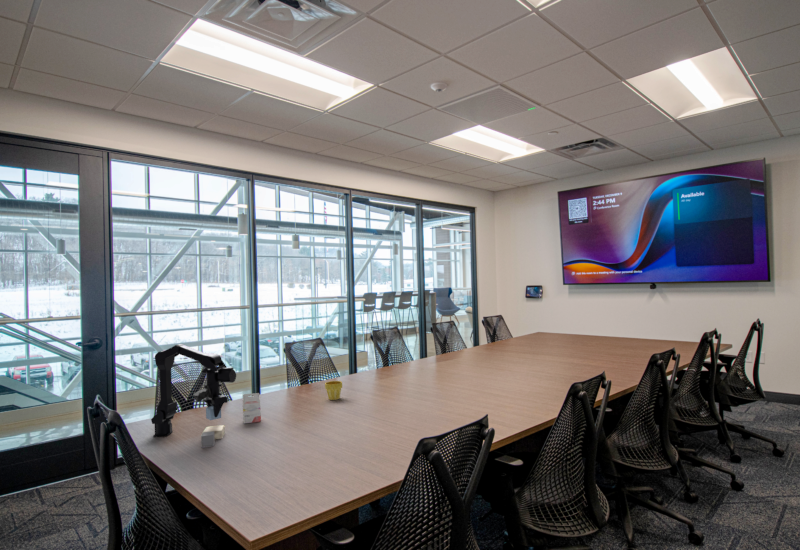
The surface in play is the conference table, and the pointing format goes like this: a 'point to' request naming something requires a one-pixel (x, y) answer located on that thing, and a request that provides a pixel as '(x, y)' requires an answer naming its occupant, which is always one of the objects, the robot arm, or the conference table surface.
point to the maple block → (216, 431)
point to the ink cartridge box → (251, 408)
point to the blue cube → (211, 413)
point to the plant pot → (333, 389)
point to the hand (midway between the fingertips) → (213, 415)
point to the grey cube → (207, 439)
